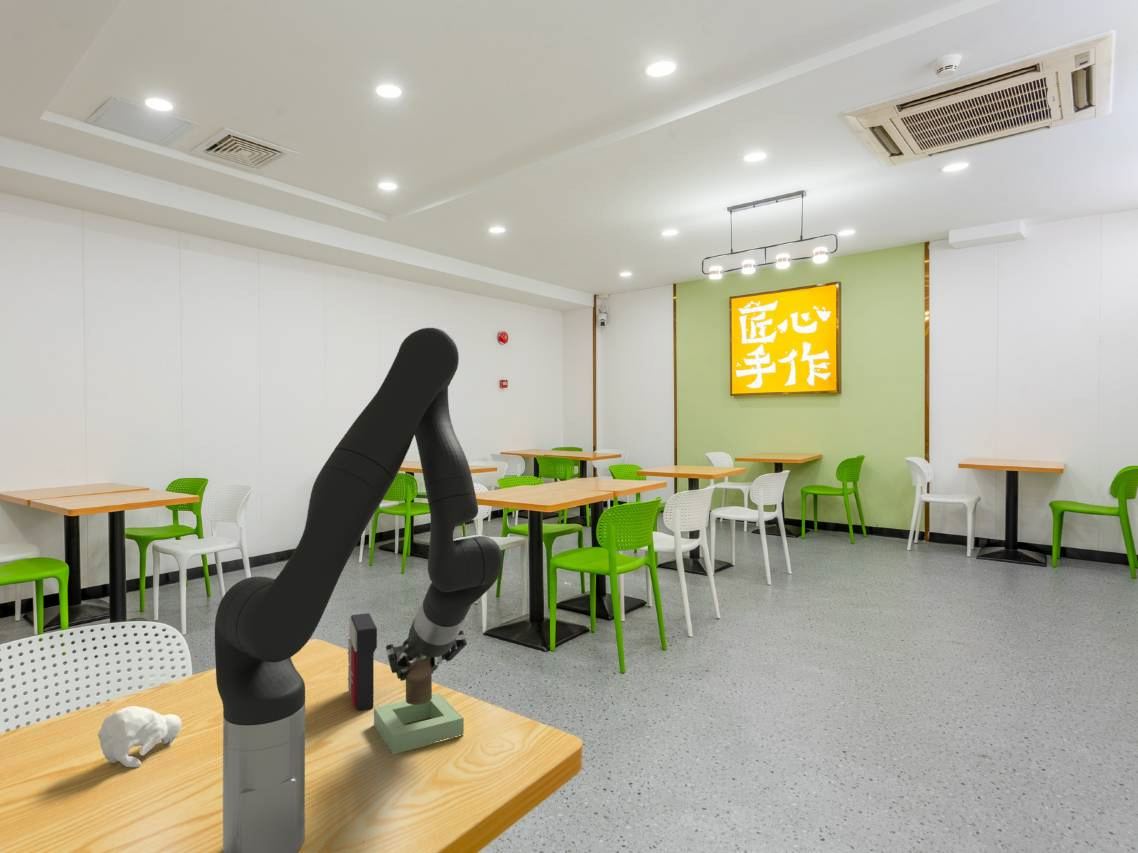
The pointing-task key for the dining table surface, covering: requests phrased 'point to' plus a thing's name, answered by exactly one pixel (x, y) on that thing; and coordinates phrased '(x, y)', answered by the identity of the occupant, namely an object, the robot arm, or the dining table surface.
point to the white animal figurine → (135, 733)
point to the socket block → (420, 733)
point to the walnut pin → (419, 683)
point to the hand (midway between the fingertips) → (415, 672)
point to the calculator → (361, 660)
